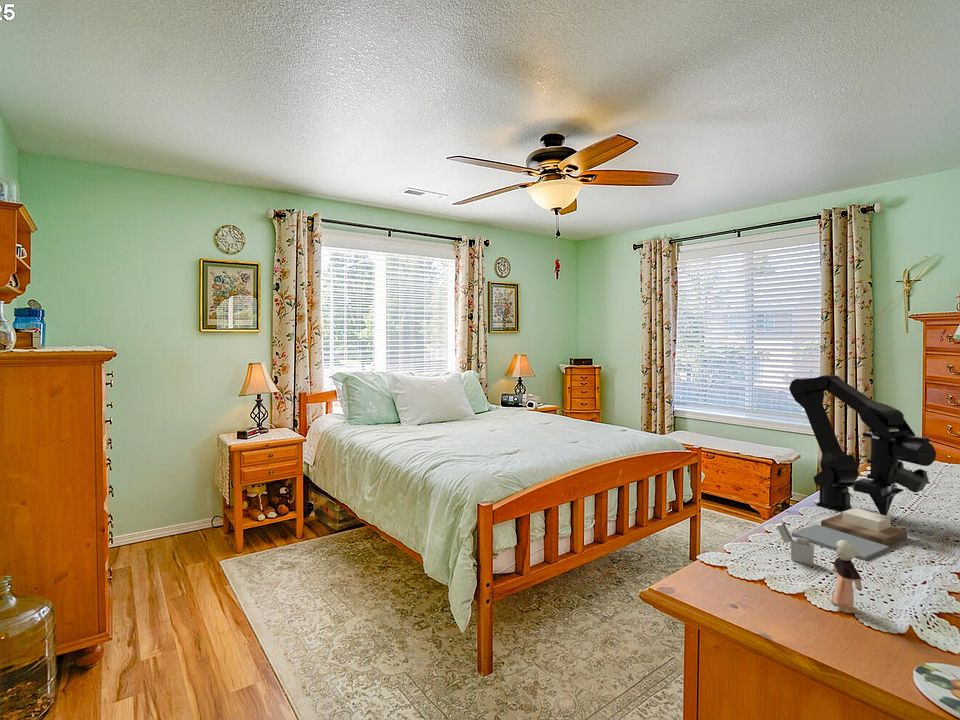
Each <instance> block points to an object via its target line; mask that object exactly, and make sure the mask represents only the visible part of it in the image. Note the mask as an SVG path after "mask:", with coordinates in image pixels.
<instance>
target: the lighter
mask: <svg viewBox="0 0 960 720" xmlns="http://www.w3.org/2000/svg"><path fill="white" fill-rule="evenodd" d="M775 526H776V528H777V531H778V532H779V534H780V536H781V538H782V540H783V542H784V543H790V561H791V560H793V561H792V562H795V561H797V562H796V563H799V562H801V563H800V564H803V563H805V564H804V565H807V564H809V565H808V566H811V565H813V566H814V564H815V544H814V543H811V542H809V541H808V540H807V539H804V538H800V537H798V538H796V539H793V536H792V534H791V533H790V532H789V530H788V528H787V526H786V524H785V522H784V521H782V522H781V521H780V522H777V523H776V524H775ZM813 563H814V564H813Z"/></svg>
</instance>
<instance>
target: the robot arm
mask: <svg viewBox="0 0 960 720" xmlns="http://www.w3.org/2000/svg"><path fill="white" fill-rule="evenodd" d="M788 387H789V392H790V394H791V396H792V397H793V399H794V401H795V402H796V403H797V404H798V405H799V406H801V407H802V408H803V409H804V412H805V414H806V417H807V418H808V419H807V420H808V422H809V424H810V427H811V430H812V431H813V432H812V433H813V434H814V436H815V439H816V441H817V444H818V447H819V450H820V452H821V459H820V462H819V464H820V468H821V471H820V472H818V473H817V474H815V476H813V482H814V484H815V486H818V487H819V501H818V502H816V504H815V505H816V506H820V507H823V508H827V509H831V510H834V511H837V512H843V511H846V510H849V509H852V505H851V493H850V492H849V490H850V489H849V487H852V490H853V491H854V492H857V493H862V494H867V495H869V497H870V498H871V500H872V501H873V503H874V505H875V508H876V509H877V510H878V512H879V514H881V515H884V516H888V513H889V510H890V507H891V505H892V502H893V500H894V498H895V496H896V495H898V494H900V493H903V491H904V488H906V489H907V490H908V491H909V492H912V493H918V492H922V491H923V490H924V488H925V487H926V486H927V484H929V483H930V481H929V477H928V473H927V471H926V470H924V469H922V468H919V469H918V468H917V469H915V470H914V471H913V470H912V469H907V468H904V467H905V466H904V462H905V463H909V464H914V465H919V466H922V467H929V466H931V465H932V464H933V463H934V462H935V460H936V457H937V451H936V450H935V447H934V445H933V444H932V443H930V438H929V437H924V436H916V433H915V432H914V431H913V429H912V428H911V427H910V425H909V423H908V422H907V421H906V419H905V417H904V416H905V415H904V413H903V412H901V410H899V409H897V408H895V407H892V406H891V405H888V404H884V403H881V402H878V401H875V400H873V399H871V398H870V397H869V396H867V395H865V394H864V393H863V392H861V391H859V390H858V389H856V388H855V387H853V386H852V385H850V384H848V382H846V381H844V380H842V378H841V377H840V375H839V376H838V375H837V374H823V375H821V376H817V377H806V378H794V379H793V380H792V381H791V383H790V385H789V386H788ZM826 391H827V392H828V393H830V394H831V395H832V396H834V397H835V398H837V399H838V400H840V401H841V402H842V403H843V404H845V405H847V406H848V407H849V408H850V409H852V410H853V411H855V412H856V413H857V414H858V416H859V418H860V421H861V422H863V423H864V424H865V425H866V426H867V427H868V428H869V429H868V430H867V431H865V432H864V433H862V437H865V438H870V458H867V459H866V464H870V470H869V471H870V473H867V474H866V478H861V479H858V477H859V476H860V472H859V469H860V467H859V465H858V464H857V461H856V458H855V456H854V455H853V454H847V453H845V451H843V450H842V447H841V445H840V442H839V440H838V438H837V435H836V432H835V430H834V428H833V425H832V423H831V420H830V418H829V415H828V414H827V412H826V409H825V407H824V404H823V403H824V399H825V395H826V394H825V392H826ZM896 484H898V485H900V486H902V487H903V488H898V485H896Z"/></svg>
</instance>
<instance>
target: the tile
mask: <svg viewBox="0 0 960 720" xmlns="http://www.w3.org/2000/svg"><path fill="white" fill-rule="evenodd" d="M841 514H842V521H843V522H846V523H849V524H853V525H856V526H860V527H863V528H867V529H870V530H874V531H877V532H879V531H882V530H884V529H887V528H889V527H891V526H892V525H891V519H892V518H891V516H888V515H885V516H884V515H881V514H880V513H876V512H873V511H869V510H864V509H862V508H861V509H860V508H856V507H853V508H852V507H851V508H848V509H845V510H843V511H841Z"/></svg>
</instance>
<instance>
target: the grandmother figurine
mask: <svg viewBox="0 0 960 720" xmlns="http://www.w3.org/2000/svg"><path fill="white" fill-rule="evenodd" d="M836 545H837V547H838V549H837V551H835V552H836V556H837V557H836V558H835V560H834V562H833V568H832V572H834V573H835V574H837V577H836V585H835V590H834V596H833V597H831V598H830V602H831V604H833V605H836V606H838V609H839V611H841V612H842V613H846V614H852V613H857V612H858V611H857V609H856V607H854V601H855V600H854V599H855V598H854V587H855V589H857V590H858V591H861V590H863V586H862V581H861V580H862V577H861V575H860V573H859V572H858V570H857V568H856V567H855V565H854V563H853V561H852V560H853V559H854V558H856V557H855V556H858V555H859V553H858V551H857V549H856V548H855V547H854V546H853V544H851V543H849V542H847V541H844V540H839V541H838V542H837V544H836ZM853 582H854V584H855V585H854V587H853Z"/></svg>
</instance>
